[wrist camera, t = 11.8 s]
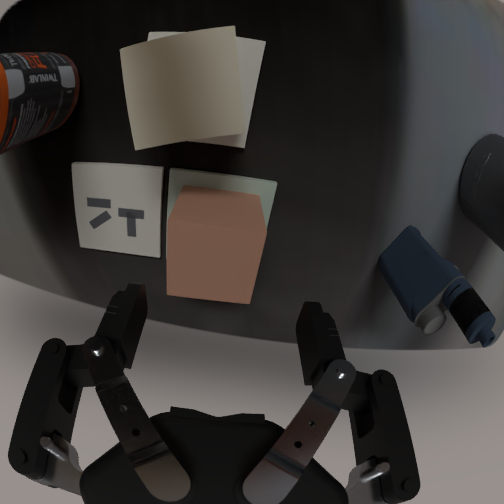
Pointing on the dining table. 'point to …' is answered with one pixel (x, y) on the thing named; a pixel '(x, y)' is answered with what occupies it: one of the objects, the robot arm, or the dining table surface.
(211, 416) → the robot arm
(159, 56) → the maple block
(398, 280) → the vaping device
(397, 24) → the dining table surface
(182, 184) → the sage pad
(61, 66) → the supplement bottle
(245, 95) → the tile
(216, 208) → the terracotta block
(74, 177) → the tile
